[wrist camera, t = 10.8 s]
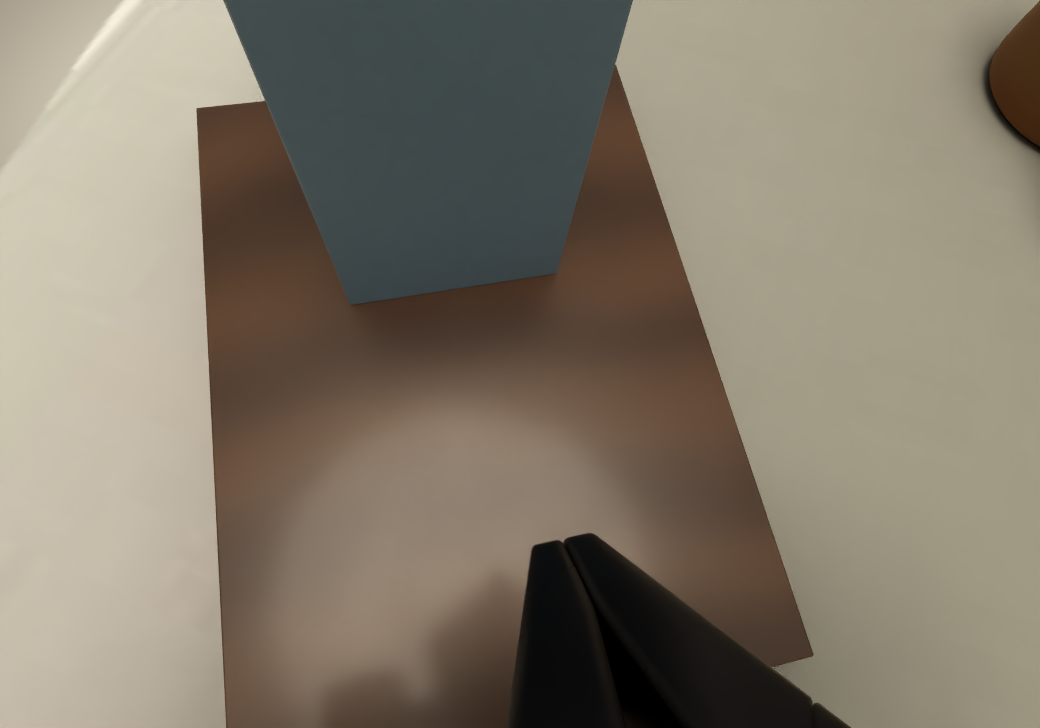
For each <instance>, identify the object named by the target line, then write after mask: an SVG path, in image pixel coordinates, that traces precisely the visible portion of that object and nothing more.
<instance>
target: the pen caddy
mask: <svg viewBox="0 0 1040 728" xmlns="http://www.w3.org/2000/svg"><path fill="white" fill-rule="evenodd" d="M632 2H633V0H224V3H225V5H226V8H227V10H228V12H229V15H230V17H231V20H232V22H233V24H234V27H235V29H236V32H237V34H238V36H239V39H240V41H241V44H242V46H243V48H244V51H245V53H246V56H247V58H248V60H249V63H250V65H251V68H252V70H253V72H254V75H255V77H256V80H257V82H258V84H259V87H260V89H261V92H262V94H263V96H264V99H265V101H266V104H267V106H268V108H269V111H270V113H271V116H272V118H273V120H274V123H275V125H276V128H277V130H278V132H279V135H280V137H281V140H282V142H283V145H284V147H285V149H286V152H287V154H288V157H289V159H290V161H291V164H292V166H293V169H294V171H295V173H296V176H297V178H298V181H299V183H300V185H301V188H302V190H303V193H304V195H305V197H306V200H307V202H308V205H309V207H310V209H311V212H312V214H313V217H314V219H315V221H316V224H317V226H318V229H319V231H320V233H321V236H322V238H323V241H324V243H325V245H326V248H327V250H328V253H329V255H330V257H331V260H332V262H333V265H334V267H335V269H336V272H337V274H338V277H339V279H340V281H341V284H342V286H343V289H344V291H345V293H346V296H347V298H348V301H349V303H350V305H354V304H361V303H367V302H374V301H380V300H387V299H394V298H400V297H407V296H413V295H420V294H426V293H433V292H439V291H446V290H452V289H459V288H465V287H472V286H478V285H485V284H491V283H498V282H504V281H511V280H517V279H524V278H530V277H537V276H543V275H550V274H556V273H557V270H558V267H559V263H560V259H561V256H562V252H563V249H564V245H565V242H566V238H567V234H568V231H569V227H570V224H571V220H572V216H573V213H574V209H575V206H576V202H577V199H578V195H579V191H580V188H581V184H582V181H583V177H584V173H585V170H586V166H587V163H588V159H589V156H590V152H591V148H592V145H593V141H594V138H595V134H596V130H597V127H598V123H599V120H600V116H601V113H602V109H603V105H604V102H605V98H606V95H607V91H608V87H609V84H610V80H611V77H612V73H613V70H614V66H615V62H616V59H617V55H618V52H619V48H620V44H621V41H622V37H623V34H624V30H625V27H626V23H627V19H628V16H629V12H630V9H631V5H632Z"/></svg>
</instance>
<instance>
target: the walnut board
mask: <svg viewBox="0 0 1040 728" xmlns="http://www.w3.org/2000/svg"><path fill="white" fill-rule="evenodd" d="M197 129H198V150H199V171H200V191H201V212H202V233H203V253H204V274H205V295H206V316H207V336H208V357H209V378H210V398H211V419H212V440H213V461H214V481H215V502H216V523H217V543H218V564H219V585H220V606H221V626H222V647H223V668H224V688H225V709H226V728H506V722H507V715H508V709H509V702H510V695H511V688H512V681H513V674H514V667H515V660H516V653H517V646H518V639H519V632H520V625H521V618H522V611H523V604H524V597H525V590H526V583H527V576H528V569H529V562H530V555H531V549H532V547H533V546H534V545H536V544H540V543H544V542H549V541H553V540H560V541H562V542H563V541H564V540H565V539H566V538H568V537H572V536H576V535H581V534H586V533H593V534H595V535H597V536H598V537H599V538H601V539H602V540H603V541H605V542H606V543H607V544H609V545H610V546H611V547H613V548H614V549H615V550H617V551H618V552H619V553H620V554H622V555H623V556H624V557H626V558H627V559H628V560H630V561H631V562H632V563H634V564H635V565H636V566H638V567H639V568H640V569H642V570H643V571H644V572H646V573H647V574H648V575H650V576H651V577H652V578H654V579H655V580H656V581H657V582H659V583H660V584H661V585H663V586H664V587H665V588H667V589H668V590H669V591H671V592H672V593H673V594H675V595H676V596H677V597H679V598H680V599H681V600H683V601H684V602H685V603H687V604H688V605H689V606H691V607H692V608H693V609H694V610H696V611H697V612H698V613H700V614H701V615H702V616H704V617H705V618H706V619H708V620H709V621H710V622H712V623H713V624H714V625H716V626H717V627H718V628H720V629H721V630H722V631H724V632H725V633H726V634H728V635H729V636H730V637H731V638H733V639H734V640H735V641H737V642H738V643H739V644H741V645H742V646H743V647H745V648H746V649H747V650H749V651H750V652H751V653H753V654H754V655H755V656H757V657H758V658H759V659H761V660H762V661H763V662H765V663H766V664H767V665H768V666H770V667H773V666H777V665H781V664H785V663H789V662H793V661H796V660H800V659H804V658H808V657H812V656H813V652H812V649H811V646H810V643H809V640H808V637H807V634H806V631H805V628H804V625H803V622H802V619H801V616H800V613H799V610H798V607H797V604H796V601H795V598H794V595H793V592H792V589H791V586H790V583H789V580H788V577H787V574H786V571H785V568H784V565H783V562H782V559H781V556H780V553H779V550H778V547H777V544H776V541H775V538H774V536H773V533H772V530H771V527H770V524H769V521H768V518H767V515H766V512H765V509H764V506H763V503H762V500H761V497H760V494H759V491H758V488H757V485H756V482H755V479H754V476H753V473H752V470H751V467H750V464H749V461H748V458H747V455H746V452H745V449H744V446H743V443H742V440H741V437H740V434H739V431H738V428H737V425H736V422H735V419H734V416H733V413H732V410H731V407H730V404H729V401H728V398H727V395H726V392H725V389H724V386H723V383H722V380H721V377H720V374H719V371H718V368H717V365H716V362H715V359H714V357H713V354H712V351H711V348H710V345H709V342H708V339H707V336H706V333H705V330H704V327H703V324H702V321H701V318H700V315H699V312H698V309H697V306H696V303H695V300H694V297H693V294H692V291H691V288H690V285H689V282H688V279H687V276H686V273H685V270H684V267H683V264H682V261H681V258H680V255H679V252H678V249H677V246H676V243H675V240H674V237H673V234H672V231H671V228H670V225H669V222H668V219H667V216H666V213H665V210H664V207H663V204H662V201H661V198H660V195H659V192H658V189H657V186H656V183H655V180H654V178H653V175H652V172H651V169H650V166H649V163H648V160H647V157H646V154H645V151H644V148H643V145H642V142H641V139H640V136H639V133H638V130H637V127H636V124H635V121H634V118H633V115H632V112H631V109H630V106H629V103H628V100H627V97H626V94H625V91H624V88H623V85H622V82H621V79H620V76H619V73H618V70H617V67H616V65H615V66H614V70H613V73H612V77H611V80H610V84H609V87H608V91H607V95H606V98H605V102H604V105H603V109H602V113H601V116H600V120H599V123H598V127H597V130H596V134H595V138H594V141H593V145H592V148H591V152H590V156H589V159H588V163H587V166H586V170H585V173H584V177H583V181H582V184H581V188H580V191H579V195H578V199H577V202H576V206H575V209H574V213H573V216H572V220H571V224H570V227H569V231H568V234H567V238H566V242H565V245H564V249H563V252H562V256H561V259H560V263H559V267H558V270H557V273H556V274H550V275H543V276H537V277H530V278H524V279H517V280H511V281H504V282H498V283H491V284H485V285H478V286H472V287H465V288H459V289H452V290H446V291H439V292H433V293H426V294H420V295H413V296H407V297H400V298H394V299H387V300H380V301H374V302H367V303H361V304H354V305H350V303H349V301H348V298H347V296H346V293H345V291H344V289H343V286H342V284H341V281H340V279H339V277H338V274H337V272H336V269H335V267H334V265H333V262H332V260H331V257H330V255H329V253H328V250H327V248H326V245H325V243H324V241H323V238H322V236H321V233H320V231H319V229H318V226H317V224H316V221H315V219H314V217H313V214H312V212H311V209H310V207H309V205H308V202H307V200H306V197H305V195H304V193H303V190H302V188H301V185H300V183H299V181H298V178H297V176H296V173H295V171H294V169H293V166H292V164H291V161H290V159H289V157H288V154H287V152H286V149H285V147H284V145H283V142H282V140H281V137H280V135H279V132H278V130H277V128H276V125H275V123H274V120H273V118H272V116H271V113H270V111H269V108H268V106H267V104H266V101H262V102H252V103H243V104H233V105H223V106H214V107H204V108H197Z"/></svg>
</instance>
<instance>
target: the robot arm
mask: <svg viewBox="0 0 1040 728" xmlns="http://www.w3.org/2000/svg"><path fill="white" fill-rule="evenodd" d="M506 728H851V727H850V726H848V725H847V724H846V723H844V722H843V721H842V720H840V719H839V718H838V717H836V716H835V715H834V714H832V713H831V712H830V711H828V710H827V709H826V708H824V707H823V706H822V705H820V704H819V703H814V704H812V699H811V697H809V696H808V695H807V694H805V693H804V692H803V691H802V690H800V689H799V688H798V687H796V686H795V685H794V684H792V683H791V682H790V681H788V680H787V679H786V678H784V677H783V676H782V675H780V674H779V673H778V672H776V671H775V670H774V669H772V668H771V667H770V666H768V665H767V664H766V663H765V662H763V661H762V660H761V659H759V658H758V657H757V656H755V655H754V654H753V653H751V652H750V651H749V650H747V649H746V648H745V647H743V646H742V645H741V644H739V643H738V642H737V641H735V640H734V639H733V638H731V637H730V636H729V635H728V634H726V633H725V632H724V631H722V630H721V629H720V628H718V627H717V626H716V625H714V624H713V623H712V622H710V621H709V620H708V619H706V618H705V617H704V616H702V615H701V614H700V613H698V612H697V611H696V610H694V609H693V608H692V607H691V606H689V605H688V604H687V603H685V602H684V601H683V600H681V599H680V598H679V597H677V596H676V595H675V594H673V593H672V592H671V591H669V590H668V589H667V588H665V587H664V586H663V585H661V584H660V583H659V582H657V581H656V580H655V579H654V578H652V577H651V576H650V575H648V574H647V573H646V572H644V571H643V570H642V569H640V568H639V567H638V566H636V565H635V564H634V563H632V562H631V561H630V560H628V559H627V558H626V557H624V556H623V555H622V554H620V553H619V552H618V551H617V550H615V549H614V548H613V547H611V546H610V545H609V544H607V543H606V542H605V541H603V540H602V539H601V538H599V537H598V536H597V535H595V534H593V533H586V534H581V535H576V536H572V537H568V538H566V539H565V540H564V541H563V542H562V541H560V540H553V541H549V542H544V543H540V544H536V545H534V546H533V547H532V549H531V555H530V562H529V569H528V576H527V583H526V590H525V597H524V604H523V611H522V618H521V625H520V632H519V639H518V646H517V653H516V660H515V667H514V674H513V681H512V688H511V695H510V702H509V709H508V715H507V722H506Z"/></svg>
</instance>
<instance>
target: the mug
mask: <svg viewBox="0 0 1040 728" xmlns="http://www.w3.org/2000/svg"><path fill="white" fill-rule="evenodd" d="M989 79H990V86H991V90H992V93H993V96H994V98H995V101H996V103H997V105H998V107H999V109H1000V110H1001V112H1002V113H1003V115H1004V116H1005V117H1006V119H1007V120H1008V121H1009V122H1010V123H1011V124H1012V126H1013V127H1014V128H1015V129H1017V130H1018V131H1019V132H1020V133H1021V134H1022V135H1023V136H1025V137H1026V138H1027V139H1028V140H1030V141H1031V142H1033V143H1034V144H1036V145H1038V146H1039V147H1040V1H1039V2H1038V3H1037V4H1036V5H1035V6H1034V7H1033V8H1032V10H1031V11H1030V12H1029V13H1028V14H1027V15H1026V16H1025V17H1024V18H1023V19H1022V20H1021V21H1020V22H1019V23H1018V24H1017V25H1016V26H1015V27H1014V28H1013V29H1012V31H1011V32H1010V33H1009V34H1008V35H1007V36H1006V38H1005V39H1004V40H1003V41H1002V43H1001V44H1000V46H999V47H998V49H997V50H996V52H995V54H994V56H993V59H992V63H991V66H990V73H989Z"/></svg>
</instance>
